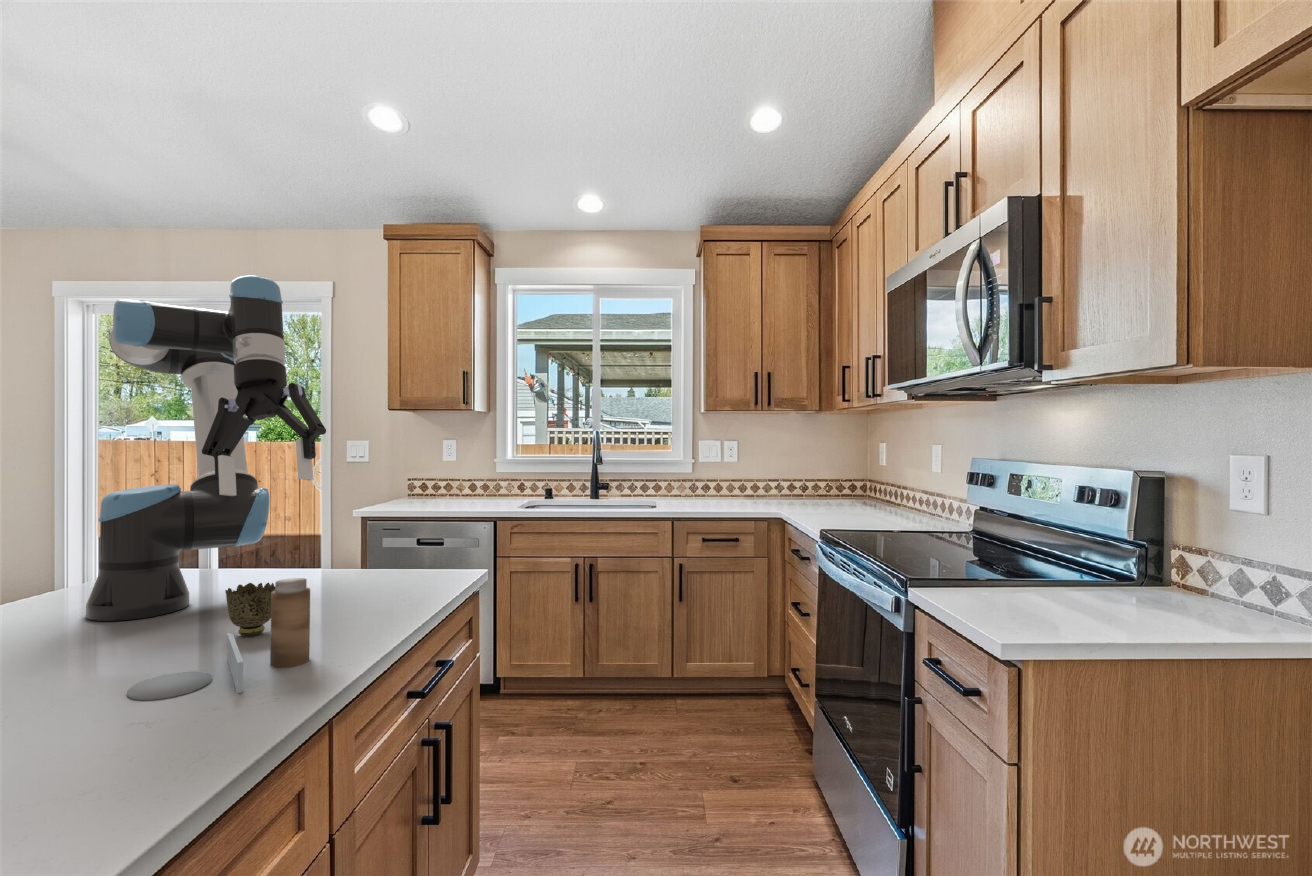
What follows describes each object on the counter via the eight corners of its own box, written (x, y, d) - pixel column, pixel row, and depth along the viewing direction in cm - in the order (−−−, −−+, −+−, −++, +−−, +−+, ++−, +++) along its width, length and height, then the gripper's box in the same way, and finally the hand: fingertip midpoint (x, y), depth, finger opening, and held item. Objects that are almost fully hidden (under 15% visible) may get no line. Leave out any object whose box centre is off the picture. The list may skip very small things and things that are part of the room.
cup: (251, 643, 101) (252, 593, 101) (213, 639, 102) (214, 590, 102) (287, 629, 108) (288, 583, 108) (251, 626, 109) (252, 580, 109)
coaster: (128, 683, 84) (128, 681, 84) (210, 668, 90) (210, 666, 90) (125, 706, 77) (125, 703, 77) (214, 688, 83) (214, 686, 83)
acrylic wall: (227, 660, 93) (227, 633, 93) (231, 659, 93) (232, 632, 93) (237, 693, 81) (237, 662, 81) (242, 692, 82) (243, 661, 82)
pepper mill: (268, 660, 93) (269, 579, 93) (305, 653, 96) (306, 575, 96) (272, 670, 89) (274, 586, 89) (312, 662, 92) (313, 581, 92)
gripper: (173, 373, 104) (176, 499, 99) (314, 342, 102) (324, 469, 98) (209, 385, 111) (214, 503, 107) (342, 357, 109) (352, 475, 105)
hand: (266, 487), depth 102 cm, fingers open, 13 cm apart
